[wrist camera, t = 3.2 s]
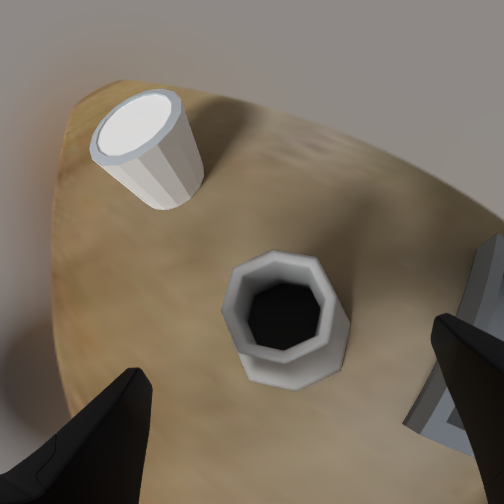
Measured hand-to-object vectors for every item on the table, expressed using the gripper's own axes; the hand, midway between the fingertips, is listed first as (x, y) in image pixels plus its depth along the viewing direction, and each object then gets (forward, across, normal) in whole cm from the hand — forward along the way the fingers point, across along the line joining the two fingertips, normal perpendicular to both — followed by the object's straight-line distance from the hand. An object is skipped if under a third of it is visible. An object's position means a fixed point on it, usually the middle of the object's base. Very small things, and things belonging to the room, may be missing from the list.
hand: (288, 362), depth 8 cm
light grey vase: (+8, 0, +6) cm, 10 cm away
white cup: (+17, +7, -3) cm, 19 cm away
